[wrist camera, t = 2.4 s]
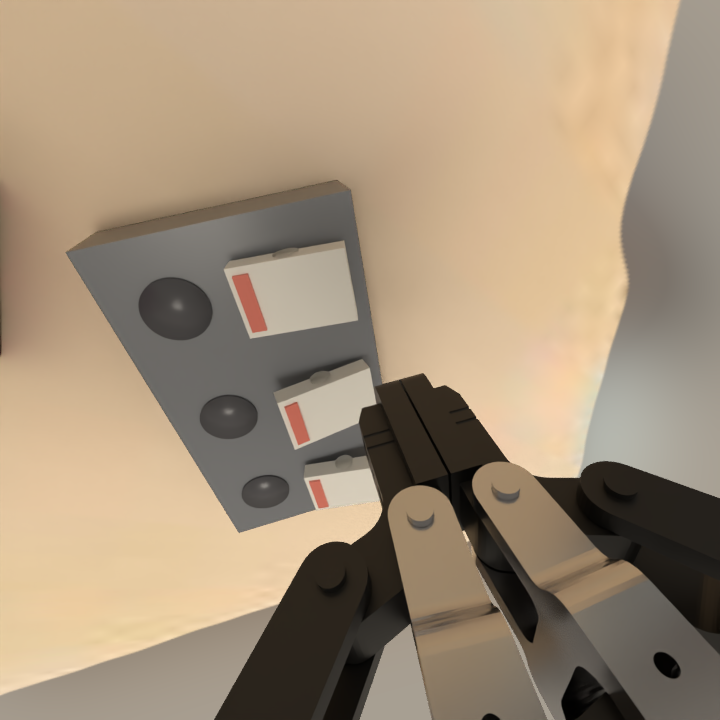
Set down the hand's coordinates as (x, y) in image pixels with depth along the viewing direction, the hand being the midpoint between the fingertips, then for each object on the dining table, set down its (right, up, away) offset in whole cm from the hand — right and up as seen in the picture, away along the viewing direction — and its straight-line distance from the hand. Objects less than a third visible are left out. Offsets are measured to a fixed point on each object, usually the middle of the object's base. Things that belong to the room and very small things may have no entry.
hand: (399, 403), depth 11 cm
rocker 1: (-5, +5, +9) cm, 11 cm away
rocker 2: (-3, -1, +13) cm, 14 cm away
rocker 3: (-2, -8, +18) cm, 20 cm away
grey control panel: (-7, +1, +17) cm, 19 cm away
